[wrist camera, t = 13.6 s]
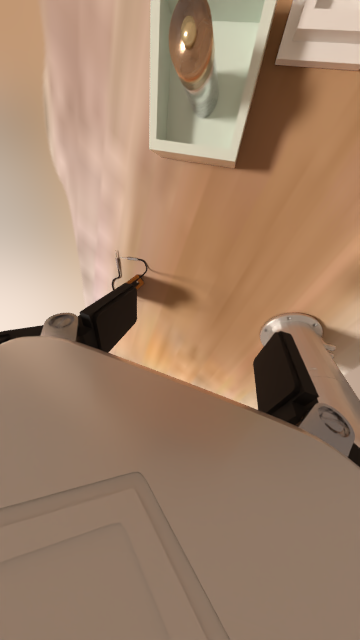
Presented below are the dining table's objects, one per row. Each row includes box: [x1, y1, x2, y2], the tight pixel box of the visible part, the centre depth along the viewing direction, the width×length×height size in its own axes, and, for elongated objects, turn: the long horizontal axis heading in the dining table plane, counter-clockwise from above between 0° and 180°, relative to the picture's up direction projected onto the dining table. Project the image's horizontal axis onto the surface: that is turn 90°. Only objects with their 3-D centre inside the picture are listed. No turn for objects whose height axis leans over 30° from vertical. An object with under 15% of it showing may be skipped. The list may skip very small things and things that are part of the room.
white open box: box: [149, 0, 278, 168], centre depth 19 cm, size 12×12×5 cm
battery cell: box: [169, 0, 219, 118], centre depth 16 cm, size 4×4×10 cm
